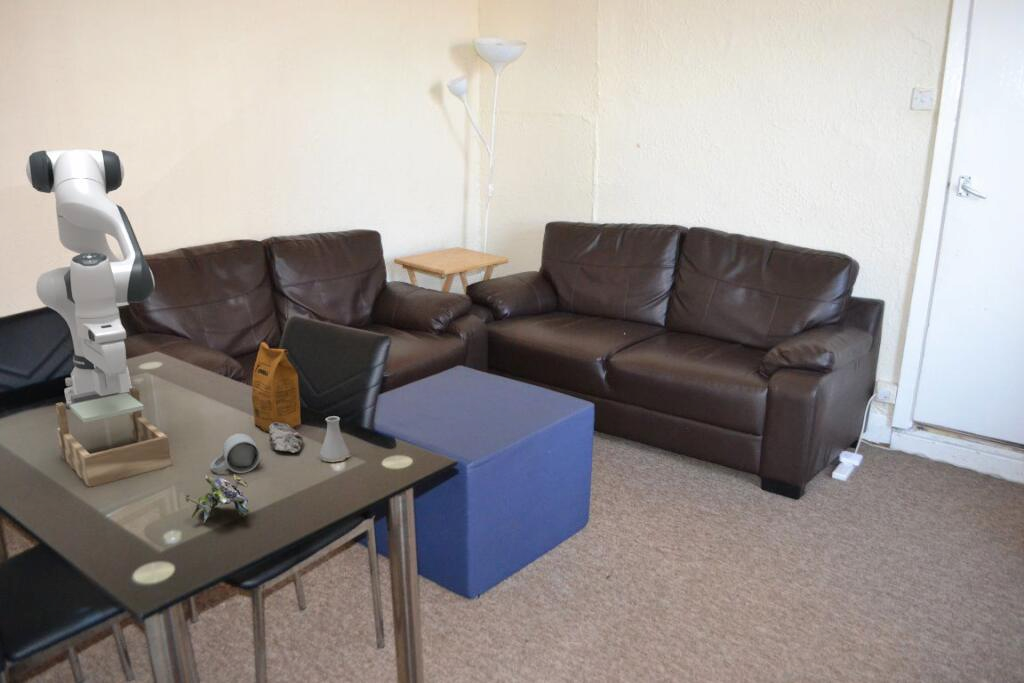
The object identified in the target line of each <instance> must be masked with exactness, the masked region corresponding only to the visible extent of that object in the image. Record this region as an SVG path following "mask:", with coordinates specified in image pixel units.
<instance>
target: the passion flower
mask: <svg viewBox="0 0 1024 683" xmlns="http://www.w3.org/2000/svg"><path fill="white" fill-rule="evenodd" d="M232 476H233V479H234V482H235V484H234V483H232V482H230V480H229V481H228V479H227V478H223V477H222V478H221V476H216V477H214V478H212V477H209V476H208V475H206V476H205V481H206V482H207V483H208V484H209V485H210V486H211V488H210V492H206V493H205V494H204V497H203V496H200V497H199V498H198V501H197V502H196V501H195V500H193V499H191V498H189V497H190V495H191V494H187V493H186V494H185V495H184V496H185V502H187V503H188V502H189V501H190V502H192V503H194V504H196V505H195V506H196V507H195V509H194V511H193V512H192V514H191V518H192V519H193V518H194V516H196V514H197V513H198V512H199V511H200V510H201V509H203V514H204V516H203V522H202V526H203V525H205V523H206V520H208V518H210V517H211V516H212V515H213V510H214V509H215V508H216V507H217V506H218V504H220V506H223V505H230V504H231V503H234V506H235V507H234V508H235V511H236V512H237V513H238V515H240V516H241V517H246V514H247V513H248V512H249V509H248V508H246V506H247V505H248V504H249V499H247V498H246V497H245V496H244V494H243V491H242V490H241V489H240V488H237V487H238V486H239V485H240V486H242V487H245V488H247V487H248V484H247V482H246V481H245V480H243V478H241V477H240V475H237V474H236V473H233V475H232ZM205 505H207V506H208V508H207V507H205Z"/></svg>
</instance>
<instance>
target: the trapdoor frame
mask: <svg viewBox="0 0 1024 683" xmlns="http://www.w3.org/2000/svg"><path fill="white" fill-rule="evenodd" d="M133 387H134V388H130V389H129V390H130V395H131V396H132V397H133V398H135V399H136V400H137V401H139V402H140V403H141V399H140V390H139V389H138V388H137V387H135V386H133ZM55 407H56V414H57V420H58V427H57V428H56V431H57V437H58V438H57V439H58V445H59V450H60V456H61V455H62V456H63V457H64V458H63V457H62V456H61V457H62V458H63V459H64V461H65V460H66V461H67V462H68V463H69V464H70V465H69V464H68V463H67V462H66V461H65V462H66V463H67V464H68V465H69V466H70V467H71V469H72V470H73V469H74V470H75V471H76V472H77V473H76V472H75V471H74V470H73V471H74V472H75V473H76V474H77V475H78V476H79V478H80V479H81V478H82V479H83V480H84V481H85V482H84V481H83V480H82V479H81V480H82V481H83V482H84V484H85V485H86V486H87V487H88V486H89V488H92V487H91V486H93V487H96V486H99V485H100V486H101V485H103V484H107V483H111V482H115V481H118V480H121V479H122V480H123V479H126V478H129V477H132V476H137V475H140V474H144V473H147V472H151V471H156V470H159V469H162V468H165V467H169V466H170V467H171V466H172V459H171V452H170V442H169V437H168V436H167V435H166V434H165V433H163V432H162V430H159V429H158V428H157V427H156V426H154V425H153V424H152V423H151V422H149V421H148V420H147V419H146V418H144V417H143V415H142V410H139V411H135V412H130V413H128V415H129V422H130V431H131V438H132V440H134V441H135V442H134V443H130V444H125V445H123V446H122V445H121V446H118V447H114V448H110V449H107V450H102V451H98V452H93V453H89V452H88V450H86V449H85V447H83V445H82V444H80V443H79V441H78V440H77V439H76V438H75V437H74V436H73V435H72V434H71V433H70V429H69V423H68V415H67V409H66V404H65V403H64V402H61V401H60V402H57V403H55Z"/></svg>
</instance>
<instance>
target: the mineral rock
mask: <svg viewBox="0 0 1024 683" xmlns="http://www.w3.org/2000/svg"><path fill="white" fill-rule="evenodd" d="M269 428H270V432H269V438H270V439H269V440H268V441H269V446H270V448H271V449H272V450H274V451H280V452H287V451H288V452H289V453H297V452H299V451H300V450H301V447H302V444H303V439H304V438H303V436H302V435H301V434H300V433H299V432H298V431H296V429H294V427H293V428H291V427H290V426H289V425H288V424H283V423H279V422H272V423H271V424H270V426H269Z"/></svg>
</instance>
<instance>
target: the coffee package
mask: <svg viewBox="0 0 1024 683" xmlns="http://www.w3.org/2000/svg"><path fill="white" fill-rule="evenodd" d="M287 355H289V351H288V350H287V349H285V348H284V349H283V348H282V349H281V348H270V347H269V345H268V344H267V343H266V342H265V341H262V342H260V346H259V350H258V352H257V356H256V361H255V363H254V367H253V372H252V384H251V385H252V386H251V387H252V388H251V402H252V409H253V420H254V426H256V425H257V426H256V427H260V428H261V430H262V431H263V430H264V432H265V431H267V432H266V433H270V428H269V426H270V424H271V423H272V422H279V423H283V424H288V425H289V426H290V427H291V428H292V427H293V428H295V426H296V427H298V426H299V425H301V424H302V420H301V401H300V389H299V388H300V386H299V376H298V375H299V374H298V372H297V371H296V369H295V367H294V366H293V364H291V362H290V361H289V359H288V357H287ZM297 425H298V426H297Z"/></svg>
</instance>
